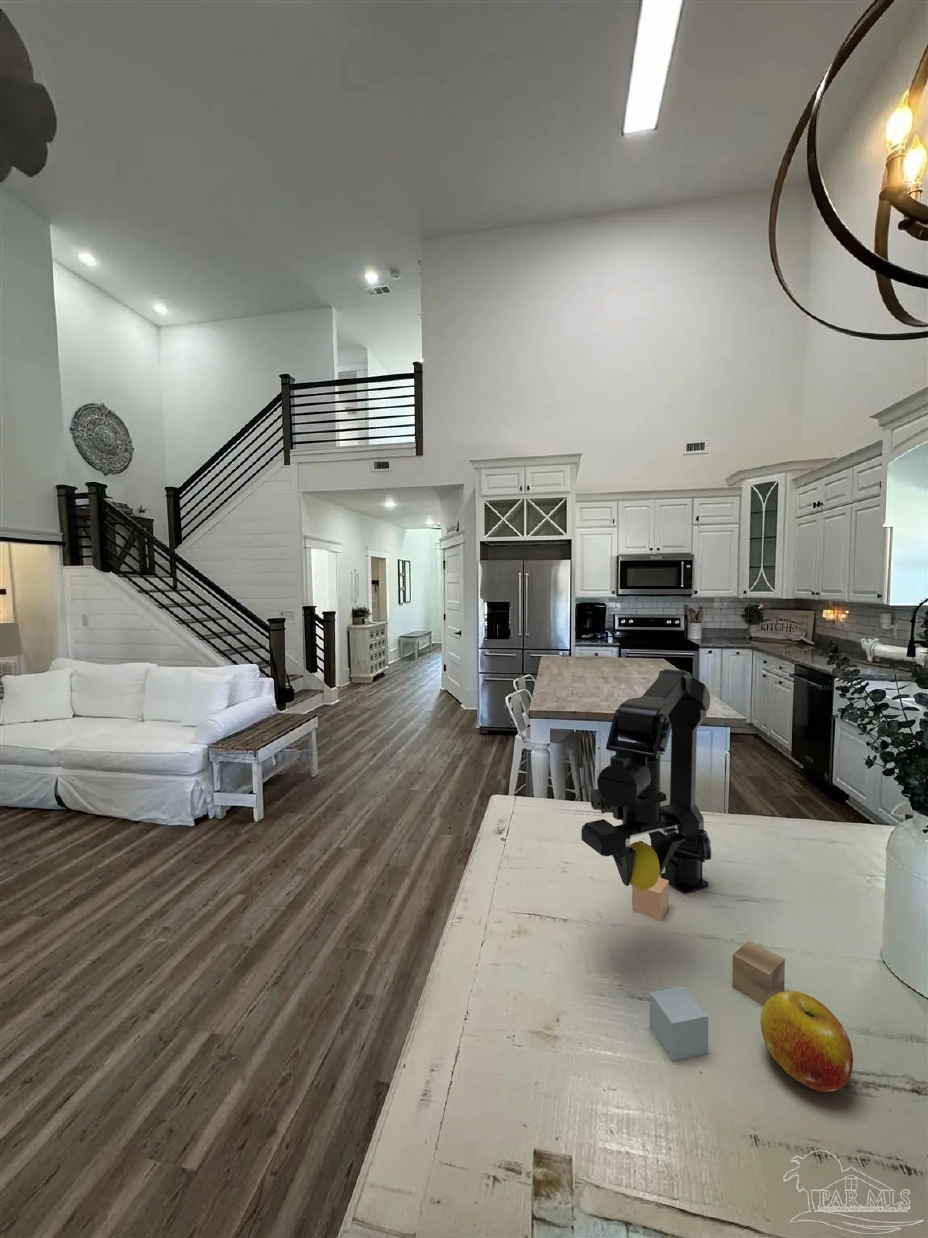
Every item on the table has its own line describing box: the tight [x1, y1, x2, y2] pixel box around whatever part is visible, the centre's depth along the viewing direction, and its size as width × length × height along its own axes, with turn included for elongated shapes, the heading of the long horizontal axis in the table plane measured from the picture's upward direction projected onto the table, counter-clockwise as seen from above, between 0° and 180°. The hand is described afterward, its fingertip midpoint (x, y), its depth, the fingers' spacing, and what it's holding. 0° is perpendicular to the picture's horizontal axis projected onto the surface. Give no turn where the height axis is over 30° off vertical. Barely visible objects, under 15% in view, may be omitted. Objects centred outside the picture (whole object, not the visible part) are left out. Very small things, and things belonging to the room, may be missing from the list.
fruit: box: [760, 990, 854, 1093], centre depth 61 cm, size 10×9×8 cm
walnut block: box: [731, 939, 786, 1007], centre depth 74 cm, size 5×5×5 cm
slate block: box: [649, 985, 709, 1062], centre depth 66 cm, size 5×5×5 cm
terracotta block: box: [631, 877, 670, 921], centre depth 93 cm, size 5×5×5 cm
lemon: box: [629, 840, 661, 891], centre depth 80 cm, size 6×6×8 cm
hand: (640, 880), depth 81 cm, fingers closed on lemon, 5 cm apart
